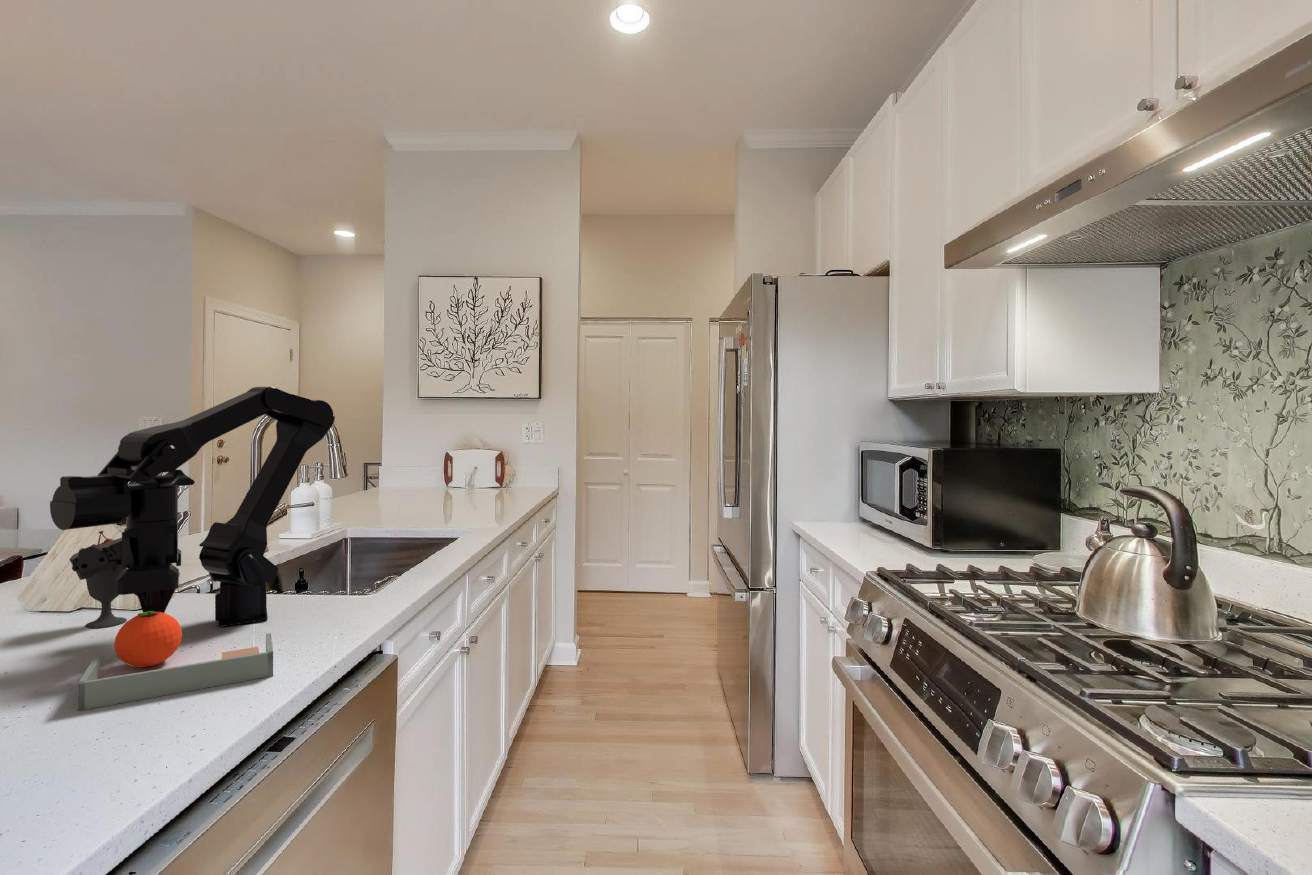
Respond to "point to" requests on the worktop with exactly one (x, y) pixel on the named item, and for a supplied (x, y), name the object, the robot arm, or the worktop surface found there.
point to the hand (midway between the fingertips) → (152, 627)
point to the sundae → (105, 593)
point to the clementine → (148, 639)
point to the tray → (170, 679)
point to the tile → (240, 652)
